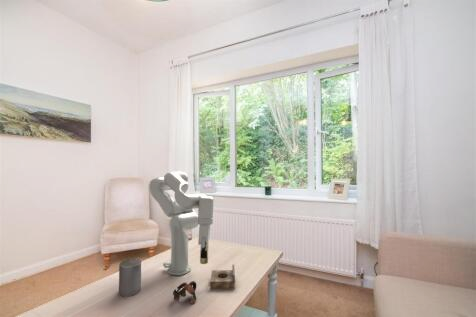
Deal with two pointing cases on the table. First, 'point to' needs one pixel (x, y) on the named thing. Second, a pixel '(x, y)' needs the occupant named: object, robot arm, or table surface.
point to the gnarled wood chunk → (183, 291)
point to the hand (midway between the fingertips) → (204, 255)
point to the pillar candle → (129, 277)
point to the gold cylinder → (204, 260)
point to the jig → (223, 279)
